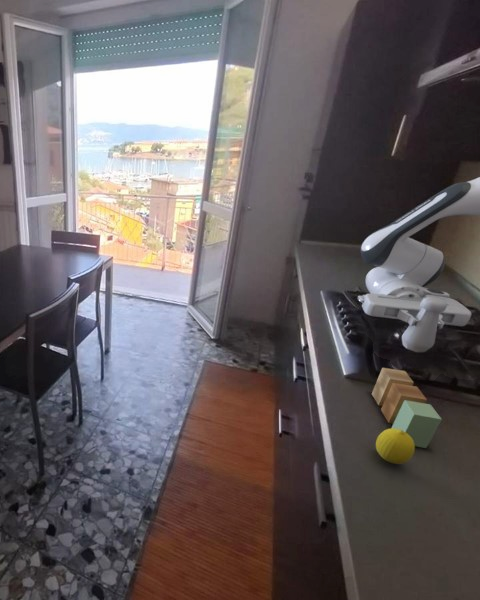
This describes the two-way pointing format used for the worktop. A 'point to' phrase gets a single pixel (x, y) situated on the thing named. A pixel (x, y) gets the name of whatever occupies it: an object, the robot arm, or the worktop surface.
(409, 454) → the lemon
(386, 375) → the block
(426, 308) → the salt shaker
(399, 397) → the block
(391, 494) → the worktop surface
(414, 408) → the block
